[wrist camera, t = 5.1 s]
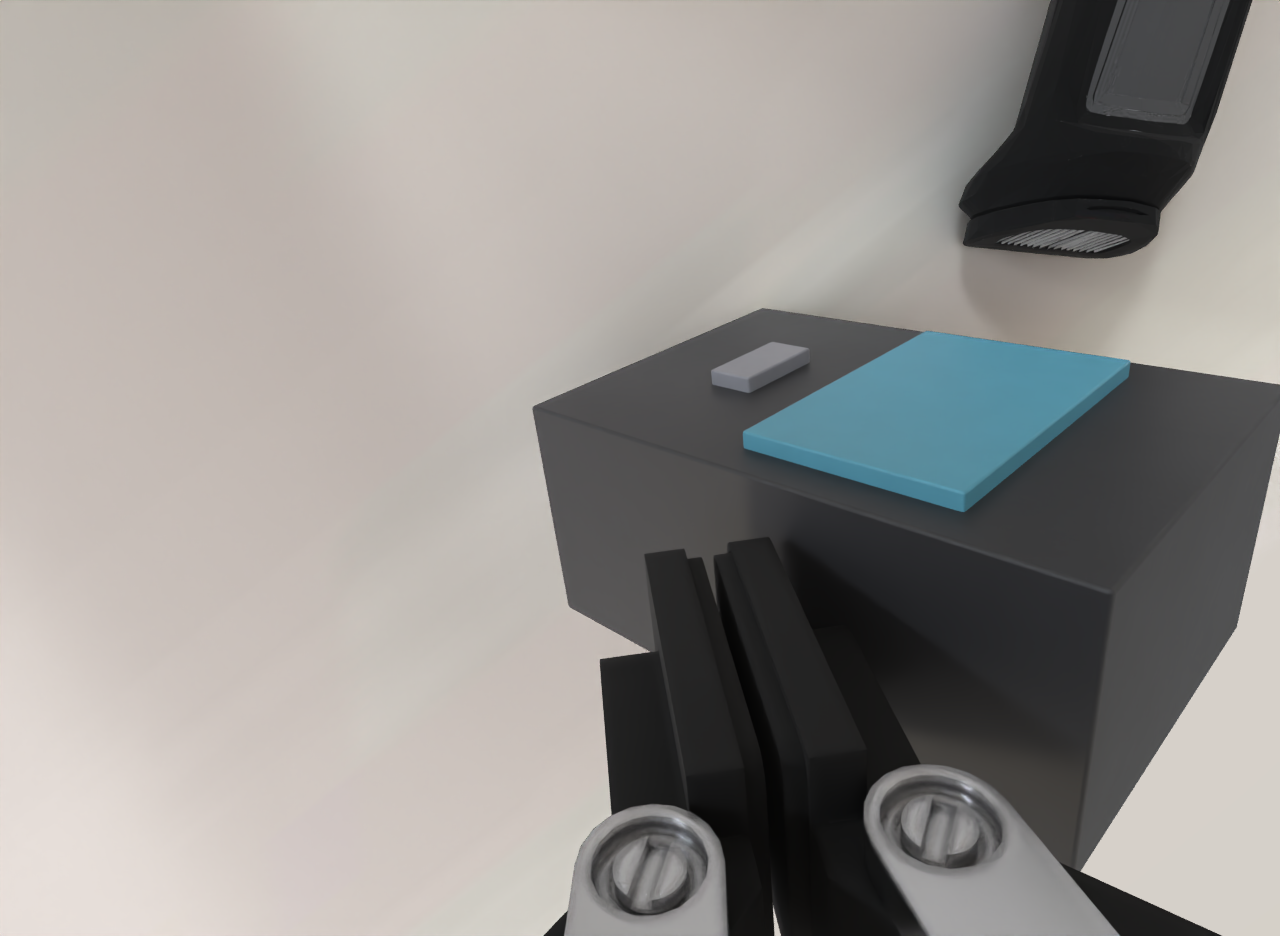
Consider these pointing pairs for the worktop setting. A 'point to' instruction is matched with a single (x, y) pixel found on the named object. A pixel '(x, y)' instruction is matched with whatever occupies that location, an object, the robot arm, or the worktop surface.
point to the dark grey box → (942, 528)
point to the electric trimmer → (1105, 126)
